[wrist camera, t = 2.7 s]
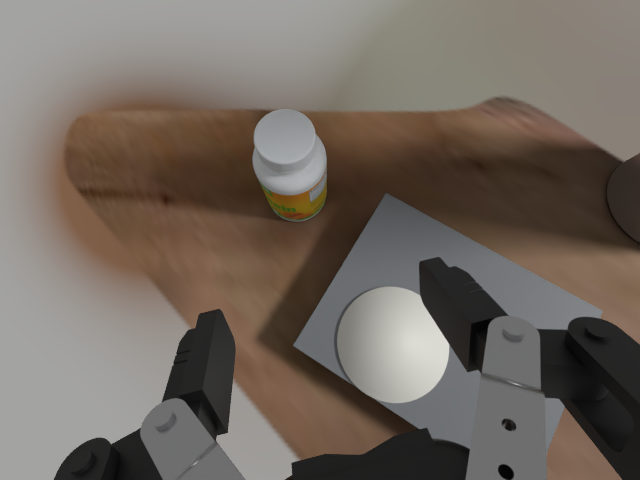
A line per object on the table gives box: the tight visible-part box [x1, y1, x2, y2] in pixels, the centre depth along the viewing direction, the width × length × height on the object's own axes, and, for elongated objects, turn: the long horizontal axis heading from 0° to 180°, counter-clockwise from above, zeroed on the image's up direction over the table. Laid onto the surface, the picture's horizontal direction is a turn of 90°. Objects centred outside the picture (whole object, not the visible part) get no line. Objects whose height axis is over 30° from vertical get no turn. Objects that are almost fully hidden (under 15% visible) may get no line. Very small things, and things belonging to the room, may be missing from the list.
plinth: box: [293, 193, 603, 453], centre depth 25 cm, size 14×18×3 cm
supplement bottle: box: [252, 109, 327, 222], centre depth 25 cm, size 5×5×10 cm
